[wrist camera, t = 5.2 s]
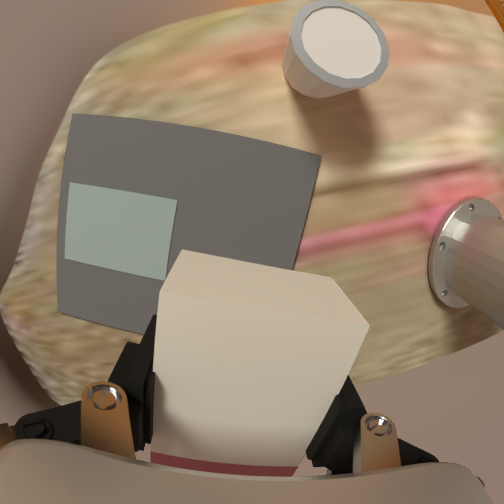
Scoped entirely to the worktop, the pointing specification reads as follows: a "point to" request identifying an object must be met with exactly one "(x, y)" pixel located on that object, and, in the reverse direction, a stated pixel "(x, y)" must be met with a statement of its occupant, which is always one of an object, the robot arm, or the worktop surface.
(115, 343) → the worktop surface
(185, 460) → the card box
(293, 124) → the worktop surface
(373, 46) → the white cup
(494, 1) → the cereal box
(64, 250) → the mat
